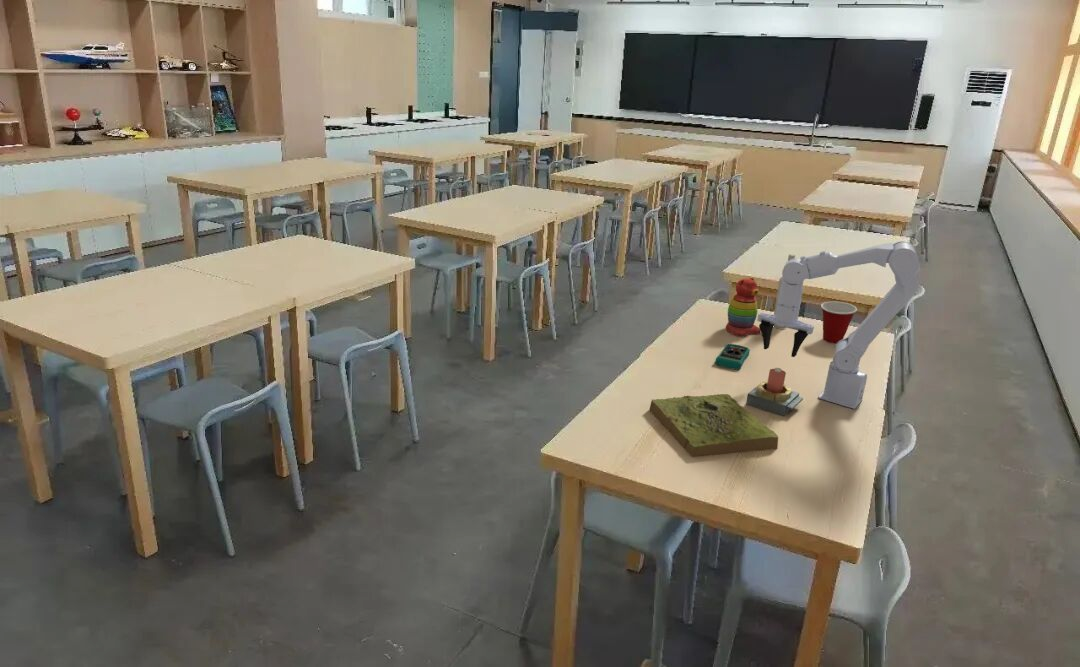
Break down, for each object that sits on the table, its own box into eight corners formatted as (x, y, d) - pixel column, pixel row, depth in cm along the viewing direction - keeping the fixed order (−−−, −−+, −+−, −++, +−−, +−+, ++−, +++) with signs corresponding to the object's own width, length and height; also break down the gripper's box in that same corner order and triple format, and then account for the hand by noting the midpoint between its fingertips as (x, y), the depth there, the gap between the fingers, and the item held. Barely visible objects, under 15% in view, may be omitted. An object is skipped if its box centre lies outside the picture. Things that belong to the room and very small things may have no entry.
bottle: (785, 324, 250) (798, 253, 241) (788, 329, 245) (801, 257, 236) (769, 323, 250) (782, 252, 242) (772, 328, 246) (785, 256, 237)
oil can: (783, 392, 189) (788, 368, 187) (779, 397, 186) (784, 373, 184) (768, 388, 191) (772, 364, 189) (764, 393, 188) (768, 369, 185)
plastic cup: (807, 337, 239) (813, 302, 235) (830, 333, 244) (837, 299, 240) (833, 348, 230) (841, 313, 226) (856, 344, 235) (864, 309, 231)
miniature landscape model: (691, 459, 161) (694, 439, 159) (648, 411, 182) (650, 393, 181) (777, 451, 167) (781, 431, 165) (726, 405, 188) (729, 388, 187)
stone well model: (802, 405, 190) (805, 389, 188) (789, 418, 182) (792, 401, 180) (760, 392, 196) (763, 376, 194) (745, 404, 188) (748, 388, 187)
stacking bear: (738, 337, 235) (747, 284, 229) (717, 327, 243) (725, 276, 237) (763, 333, 240) (772, 281, 234) (741, 323, 248) (749, 273, 242)
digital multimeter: (749, 355, 222) (750, 346, 221) (739, 371, 209) (740, 362, 208) (725, 350, 225) (726, 341, 224) (714, 366, 212) (715, 357, 211)
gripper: (756, 301, 193) (748, 348, 198) (811, 314, 185) (801, 363, 190) (766, 295, 199) (758, 342, 203) (819, 308, 191) (810, 356, 195)
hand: (779, 352), depth 197 cm, fingers open, 7 cm apart
